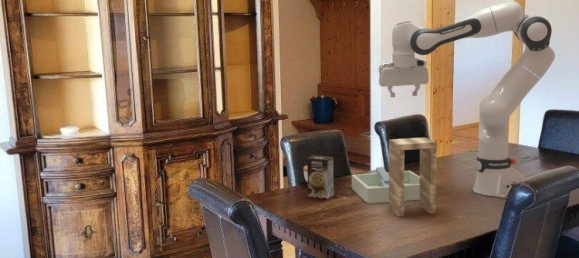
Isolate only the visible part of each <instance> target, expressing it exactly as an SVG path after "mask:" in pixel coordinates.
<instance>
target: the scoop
mask: <svg viewBox="0 0 579 258" xmlns="http://www.w3.org/2000/svg"><path fill="white" fill-rule="evenodd" d="M375 173H377V174H378V176H379V177H380V185H379V186H380V187H385V186H389V175H388V174H387V170H386V169H385V167H384V166H378V167H376V169H375Z"/></svg>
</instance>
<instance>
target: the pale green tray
mask: <svg viewBox="0 0 579 258" xmlns="http://www.w3.org/2000/svg"><path fill="white" fill-rule="evenodd" d="M386 172H387V171H386ZM387 174H388V175H389V171H388V172H387ZM379 185H380V177H379V176H378V174H377V172H374V173H373V172H372V173H360V174H359V173H358V174H351V190H352V191H354V192H355V194H356V195H357V196H359V197H360V198H361V199H362V200H363V201H364V202H365V203H366V204H367V205H369V204H380V203H381V204H382V203H383V204H384V203H389V186H385V187H380V186H379ZM419 195H420V175H418V174H416V173H415V172H413V171H411V170H404V202H407V201H419Z"/></svg>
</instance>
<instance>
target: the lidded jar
mask: <svg viewBox="0 0 579 258" xmlns="http://www.w3.org/2000/svg"><path fill="white" fill-rule="evenodd" d="M303 176H304V179H305V181H306V183H308V172H307V165H304V166H303Z"/></svg>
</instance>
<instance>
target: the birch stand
mask: <svg viewBox="0 0 579 258" xmlns="http://www.w3.org/2000/svg"><path fill="white" fill-rule="evenodd" d="M437 145H438V142H437V141H435V140H432V139H430V138H428V137H424V136H423V137H409V138H397V139H396V138H392V139H389V140H388V172H389V202H388V208H389V209H390V211H392V212H393V214H395V215H396V216H397V217H404V216H405V201H404V171H405V151H407V150H409V151H410V150H419V176H420V195H419V200H418V201H419V207H421V208H422V210H425V212H427V213H429V214H436V211H437V159H438V158H437V154H438V153H437V151H438V149H437V148H438V146H437Z"/></svg>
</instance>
